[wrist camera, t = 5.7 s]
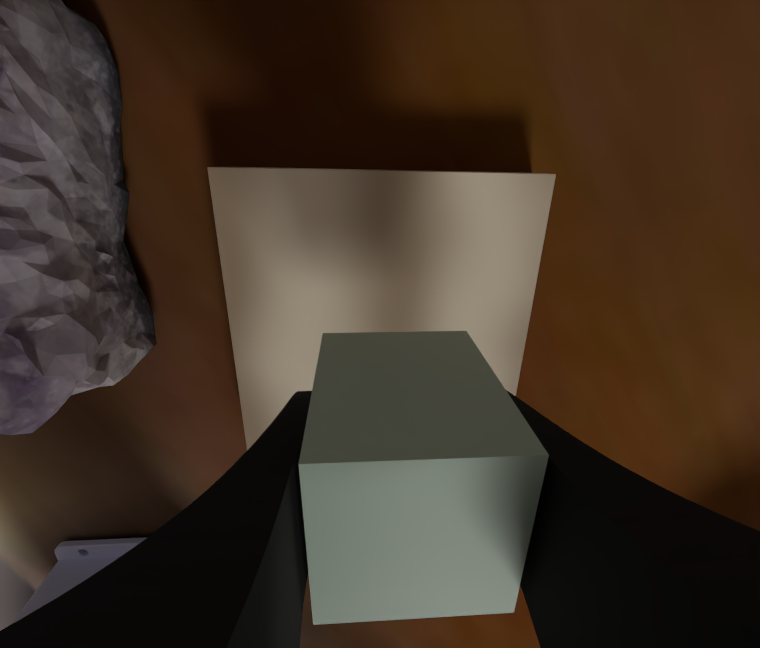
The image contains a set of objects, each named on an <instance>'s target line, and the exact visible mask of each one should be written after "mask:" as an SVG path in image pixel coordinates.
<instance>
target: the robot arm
mask: <svg viewBox="0 0 760 648" xmlns="http://www.w3.org/2000/svg"><path fill="white" fill-rule="evenodd" d="M506 391H507V390H506ZM507 393H508V394H509V396H510V397H511V399H512V400H513V402H514V403H515V405H516V406H517V408H518V409H519V411H520V412H521V414H522V415H523V417H524V418H525V420H526V421H527V423H528V424H529V426H530V427H531V429H532V430H533V432H534V433H535V435H536V436H537V438H538V439H539V441H540V442H541V444H542V445H543V447H544V448H545V450H546V451H547V453H548V454H549V457H548V461H547V466H546V470H545V475H544V479H543V484H542V488H541V493H540V497H539V502H538V506H537V511H536V515H535V520H534V524H533V528H532V533H531V537H530V542H529V546H528V551H527V555H526V560H525V564H524V569H523V573H522V578H521V582H520V585H521V588H522V591H523V593H524V596H525V600H526V603H527V606H528V609H529V612H530V615H531V618H532V622H533V625H534V628H535V631H536V634H537V637H538V640H539V644H540V647H541V648H760V531H757V530H755V529H753V528H750V527H748V526H745V525H743V524H741V523H738V522H736V521H734V520H731V519H729V518H727V517H724V516H722V515H720V514H718V513H715V512H713V511H711V510H709V509H707V508H705V507H702V506H700V505H698V504H696V503H694V502H691V501H689V500H687V499H685V498H683V497H681V496H679V495H677V494H675V493H673V492H670V491H668V490H666V489H664V488H662V487H660V486H658V485H657V484H655V483H653V482H651V481H649V480H647V479H645V478H643V477H642V476H640V475H638V474H636V473H634V472H632V471H630V470H628V469H627V468H625V467H623V466H621V465H620V464H618V463H616V462H614V461H613V460H611V459H609V458H607V457H606V456H604V455H603V454H601V453H599V452H598V451H596V450H594V449H593V448H591V447H590V446H588V445H586V444H585V443H583V442H582V441H580V440H578V439H577V438H575V437H574V436H572V435H571V434H569V433H568V432H566V431H565V430H563V429H562V428H560V427H559V426H557V425H556V424H554V423H553V422H551V421H550V420H549V419H547V418H546V417H544V416H543V415H541V414H540V413H539V412H537V411H536V410H534V409H533V408H532V407H530V406H529V405H527V404H526V403H524V402H523V401H522V400H520V399H519V398H517V397H516V396H514V395H513V394H511V393H510V392H508V391H507ZM311 394H312V391H297V392H296V393H295V394H294V395H293V396H292V397H291V398H290V400H289V401H288V402H287V404H286V405H285V406H284V408H283V409H282V410H281V412H280V413H279V414H278V415H277V417H276V418H275V419H274V420H273V422H272V423H271V424H270V425H269V426H268V428H267V429H266V430H265V431H264V432H263V433H262V435H261V436H260V437H259V438H258V439H257V440H256V442H255V443H254V444H253V445H252V446H251V447H250V448H249V449H248V450H247V451H246V452H245V453H244V454H243V455H242V456H241V457H240V459H239V460H238V461H237V462H236V463H235V464H234V465H233V466H232V467H231V468H230V469H229V470H228V471H227V472H226V473H225V474H224V475H223V476H222V477H221V478H220V479H219V480H217V481H216V482H215V483H214V484H213V485H212V486H211V487H210V488H209V489H208V490H206V491H205V492H204V493H203V494H202V495H201V496H200V497H198V498H197V499H196V500H195V501H194V502H193V503H192V504H190V505H189V506H188V507H187V508H185V509H184V510H183V511H181V512H180V513H179V514H178V515H176V516H175V517H174V518H172V519H171V520H170V521H168V522H167V523H166V524H164V525H163V526H162V527H161V528H159V529H158V530H157V531H155V532H154V533H153V534H151V535H150V536H149V537H144V538H122V539H100V540H78V541H64V542H61V543H59V545H58V546H57V547H56V548H55V550H54V552H55V555H56V557H57V560H58V562H57V563H56V565H55V566H54V567H53V569H52V570H51V571H50V573H49V574H48V575H47V577H46V578H45V580H44V581H43V582H42V584H41V585H40V586H39V588H38V589H37V590H36V592H35V593H34V594H33V596H32V597H31V599H30V600H29V601H28V603H27V604H26V605H25V607H24V608H23V610H22V611H21V612H20V613H19V615H18V616H17V617H16V619H15V620H14V622H13V623H12V624H11V625H10V626H8V627H6V628H5V629H3V630H1V631H0V648H299V645H300V634H301V623H302V611H303V602H304V595H305V588H306V581H307V575H308V562H307V551H306V540H305V529H304V519H303V508H302V497H301V486H300V475H299V465H298V464H299V459H300V453H301V448H302V442H303V437H304V432H305V426H306V421H307V415H308V410H309V405H310V399H311Z"/></svg>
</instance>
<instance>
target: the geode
mask: <svg viewBox="0 0 760 648" xmlns="http://www.w3.org/2000/svg"><path fill="white" fill-rule="evenodd" d="M121 116H122V101H121V91H120V81H119V73H118V70H117V67H116V65H115V62H114V59H113V57H112V54H111V51H110V49H109V46H108V43H107V42H106V40H105V39H104V37H103V35H102V34H101V32H100V31H99V29H98V28H97V26H96V25H95V24H93V23H92V22H90V21H89V20H87V19H86V18H84V17H83V16H81V15H79V14H78V13H76V12H75V11H73V10H71V9H70V8H68V7H66V6H65V5H64V3H63V1H62V0H0V434H4V435H18V434H28V433H33V432H34V431H35V430H37V429H38V428H39V427H40V426H41V425H43V424H44V423H45V422H46V421H48V420H49V419H50V418H51V417H52V416H53V415H54V414H55V413H56V412H57V411H58V410H59V409H60V408H61V407H62V405H63V404H64V403H65V402H66V400H67V399H68V398H69V397H70V396H71V395H74V394H77V393H81V392H84V391H87V390H91V389H94V388H97V387H103V386H113V385H115V384H116V383H117V382H119V381H120V380H121V379H123V378H124V377H125V376H127V375H128V374H129V373H130V372H131V371H132V369H133V368H134V367H135V366H136V364H137V363H138V362H139V361H140V360H141V359H142V358H143V357H144V356H146V355H147V354H148V353H149V352H150V351H151V350H152V349H153V347H154V346H155V345H156V344H157V342H156V337H155V330H154V319H153V313H152V310H151V308H150V306H149V303H148V301H147V299H146V296H145V295H144V293H143V291H142V289H141V287H140V286H139V283H138V280H137V277H136V274H135V271H134V268H133V265H132V262H131V259H130V257H129V254H128V251H127V249H126V246H125V243H124V241H123V240H124V234H125V228H126V221H127V213H128V202H129V191H128V189H127V187H126V185H125V183H124V177H123V155H122V146H121V137H120V128H121Z"/></svg>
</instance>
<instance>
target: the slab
mask: <svg viewBox="0 0 760 648" xmlns="http://www.w3.org/2000/svg"><path fill="white" fill-rule="evenodd" d="M207 168H208V175H209V183H210V190H211V197H212V204H213V211H214V218H215V225H216V232H217V239H218V246H219V254H220V261H221V268H222V275H223V282H224V289H225V296H226V303H227V310H228V317H229V324H230V332H231V339H232V346H233V353H234V360H235V367H236V374H237V381H238V388H239V395H240V403H241V410H242V417H243V424H244V431H245V438H246V445H247V450H248V449H249V448H250V447H251V446H252V445H253V444H254V443H255V442H256V440H257V439H258V438H259V437H260V436H261V435H262V433H263V432H264V431H265V430H266V429H267V428H268V426H269V425H270V424H271V423H272V422H273V420H274V419H275V418H276V417H277V415H278V414H279V413H280V412H281V410H282V409H283V408H284V406H285V405H286V404H287V402H288V401H289V400H290V398H291V397H292V396H293V395H294V394H295V393H296V392H297V391H312V388H313V383H314V378H315V372H316V367H317V361H318V356H319V351H320V345H321V340H322V334H323V333H358V332H418V331H467V332H468V334H469V335H470V337H471V338H472V340H473V341H474V343H475V344H476V346H477V347H478V349H479V350H480V352H481V353H482V355H483V356H484V358H485V359H486V361H487V362H488V364H489V365H490V367H491V368H492V370H493V372H494V373H495V375H496V376H497V378H498V379H499V381H500V382H501V384H502V385H503V387H504V388H505V390H507V391H508V392H510V393H511V394H513V395H514V396H516V391H517V386H518V380H519V375H520V369H521V364H522V358H523V353H524V347H525V342H526V336H527V331H528V325H529V320H530V314H531V309H532V303H533V298H534V292H535V287H536V281H537V276H538V270H539V265H540V259H541V254H542V248H543V243H544V237H545V232H546V226H547V221H548V215H549V210H550V204H551V199H552V193H553V188H554V182H555V177H556V174H543V173H518V172H468V171H418V170H368V169H318V168H269V167H207Z"/></svg>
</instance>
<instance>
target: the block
mask: <svg viewBox="0 0 760 648" xmlns="http://www.w3.org/2000/svg"><path fill="white" fill-rule="evenodd" d="M548 457H549V454H548V453H547V451H546V450H545V448H544V447H543V445H542V444H541V442H540V441H539V439H538V438H537V436H536V435H535V433H534V432H533V430H532V429H531V427H530V426H529V424H528V423H527V421H526V420H525V418H524V417H523V415H522V414H521V412H520V411H519V409H518V408H517V406H516V405H515V403H514V402H513V400H512V399H511V397H510V396H509V394H508V393H507V391H506V390H505V388H504V387H503V385H502V384H501V382H500V381H499V379H498V378H497V376H496V375H495V373H494V372H493V370H492V368H491V367H490V365H489V364H488V362H487V361H486V359H485V358H484V356H483V355H482V353H481V352H480V350H479V349H478V347H477V346H476V344H475V343H474V341H473V340H472V338H471V337H470V335H469V334H468V332H467V331H418V332H358V333H323V334H322V340H321V345H320V351H319V356H318V361H317V367H316V372H315V378H314V383H313V388H312V394H311V399H310V405H309V410H308V415H307V421H306V426H305V432H304V437H303V442H302V448H301V453H300V459H299V464H298V465H299V475H300V486H301V497H302V508H303V519H304V529H305V540H306V551H307V562H308V573H309V583H310V594H311V605H312V616H313V625H316V624H333V623H349V622H365V621H382V620H398V619H415V618H431V617H447V616H464V615H480V614H497V613H513V612H514V609H515V605H516V600H517V596H518V591H519V587H520V582H521V578H522V573H523V569H524V564H525V560H526V555H527V551H528V546H529V542H530V537H531V533H532V528H533V524H534V520H535V515H536V511H537V506H538V502H539V497H540V493H541V488H542V484H543V479H544V475H545V470H546V466H547V461H548Z"/></svg>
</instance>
